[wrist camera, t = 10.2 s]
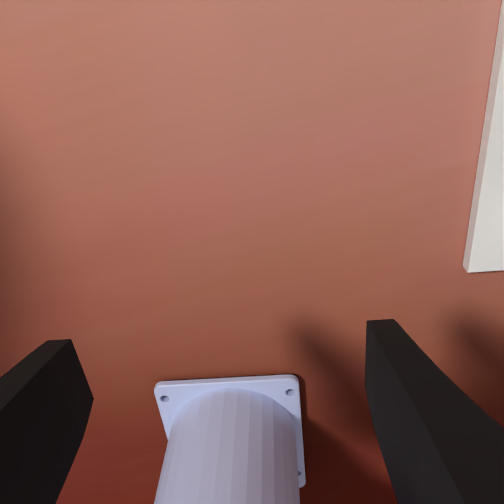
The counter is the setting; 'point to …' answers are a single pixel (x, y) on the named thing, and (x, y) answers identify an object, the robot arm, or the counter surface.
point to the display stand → (489, 177)
